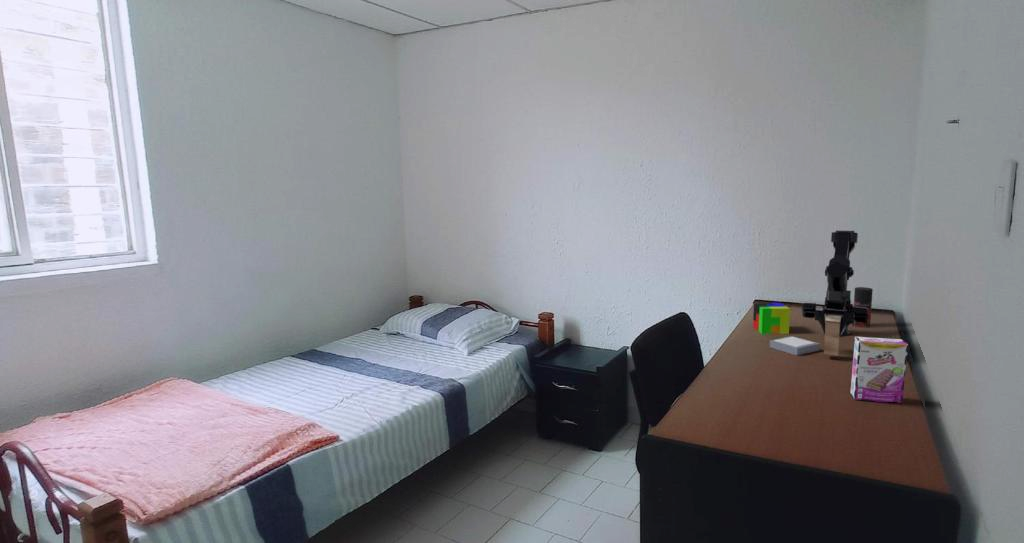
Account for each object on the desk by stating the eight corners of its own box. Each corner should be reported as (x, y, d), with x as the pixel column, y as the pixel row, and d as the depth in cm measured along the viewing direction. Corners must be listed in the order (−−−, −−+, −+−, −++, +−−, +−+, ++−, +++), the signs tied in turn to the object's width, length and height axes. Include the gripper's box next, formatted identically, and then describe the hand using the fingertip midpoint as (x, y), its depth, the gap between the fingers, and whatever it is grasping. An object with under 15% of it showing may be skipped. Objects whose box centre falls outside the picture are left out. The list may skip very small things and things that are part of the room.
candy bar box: (854, 400, 146) (858, 341, 144) (849, 393, 151) (853, 335, 148) (904, 404, 142) (909, 343, 140) (897, 397, 147) (902, 338, 145)
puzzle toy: (778, 327, 220) (780, 302, 219) (788, 334, 210) (790, 308, 209) (753, 327, 221) (753, 303, 220) (761, 334, 211) (762, 308, 210)
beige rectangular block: (824, 350, 183) (826, 315, 181) (838, 352, 181) (841, 316, 179) (823, 353, 180) (825, 318, 178) (838, 355, 177) (840, 319, 175)
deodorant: (853, 327, 217) (856, 289, 214) (851, 323, 222) (853, 286, 220) (871, 328, 214) (874, 290, 212) (868, 324, 220) (870, 287, 218)
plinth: (791, 342, 199) (791, 335, 198) (819, 350, 189) (819, 343, 189) (769, 347, 194) (769, 340, 194) (797, 355, 184) (797, 347, 184)
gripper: (804, 279, 185) (798, 318, 177) (870, 282, 174) (867, 324, 167) (805, 297, 192) (800, 335, 185) (868, 302, 182) (866, 342, 175)
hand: (832, 334), depth 178 cm, fingers closed on beige rectangular block, 4 cm apart
